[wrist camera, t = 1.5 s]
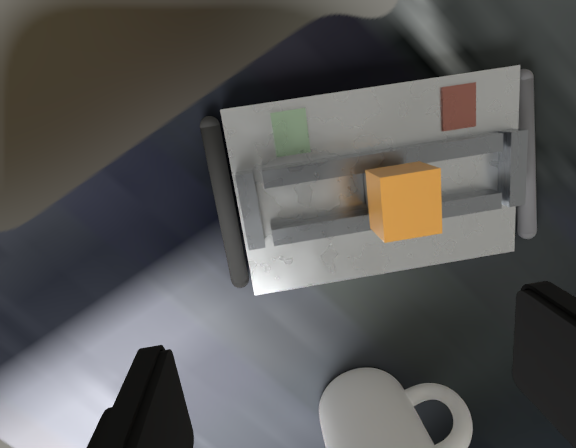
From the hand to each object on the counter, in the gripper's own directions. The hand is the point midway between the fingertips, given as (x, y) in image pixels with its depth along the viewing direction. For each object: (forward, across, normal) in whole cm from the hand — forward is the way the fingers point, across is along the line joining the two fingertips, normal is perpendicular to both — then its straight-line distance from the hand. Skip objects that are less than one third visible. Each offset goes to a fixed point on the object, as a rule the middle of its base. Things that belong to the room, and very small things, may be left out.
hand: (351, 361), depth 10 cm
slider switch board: (+21, -7, 0) cm, 22 cm away
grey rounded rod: (+21, -19, 0) cm, 28 cm away
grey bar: (+21, +5, 0) cm, 21 cm away
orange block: (+19, -7, 0) cm, 20 cm away
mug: (+21, -6, +20) cm, 30 cm away
